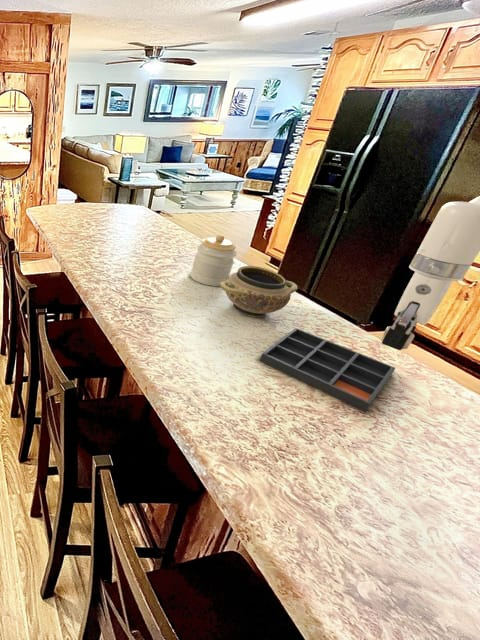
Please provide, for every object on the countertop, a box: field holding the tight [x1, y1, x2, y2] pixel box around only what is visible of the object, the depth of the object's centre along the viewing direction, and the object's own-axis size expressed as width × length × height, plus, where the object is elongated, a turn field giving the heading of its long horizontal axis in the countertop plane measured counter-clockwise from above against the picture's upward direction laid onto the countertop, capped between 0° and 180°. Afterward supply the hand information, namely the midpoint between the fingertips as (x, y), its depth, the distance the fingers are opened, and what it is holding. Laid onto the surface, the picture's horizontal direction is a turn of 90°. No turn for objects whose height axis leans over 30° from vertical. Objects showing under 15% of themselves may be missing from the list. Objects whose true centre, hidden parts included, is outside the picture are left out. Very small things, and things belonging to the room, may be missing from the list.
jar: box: [190, 234, 237, 287], centre depth 143 cm, size 13×13×18 cm
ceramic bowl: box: [219, 265, 298, 318], centre depth 123 cm, size 24×18×15 cm
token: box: [380, 325, 415, 350], centre depth 83 cm, size 4×4×3 cm
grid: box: [259, 327, 396, 413], centre depth 99 cm, size 22×22×2 cm
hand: (394, 341), depth 84 cm, fingers closed on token, 4 cm apart
